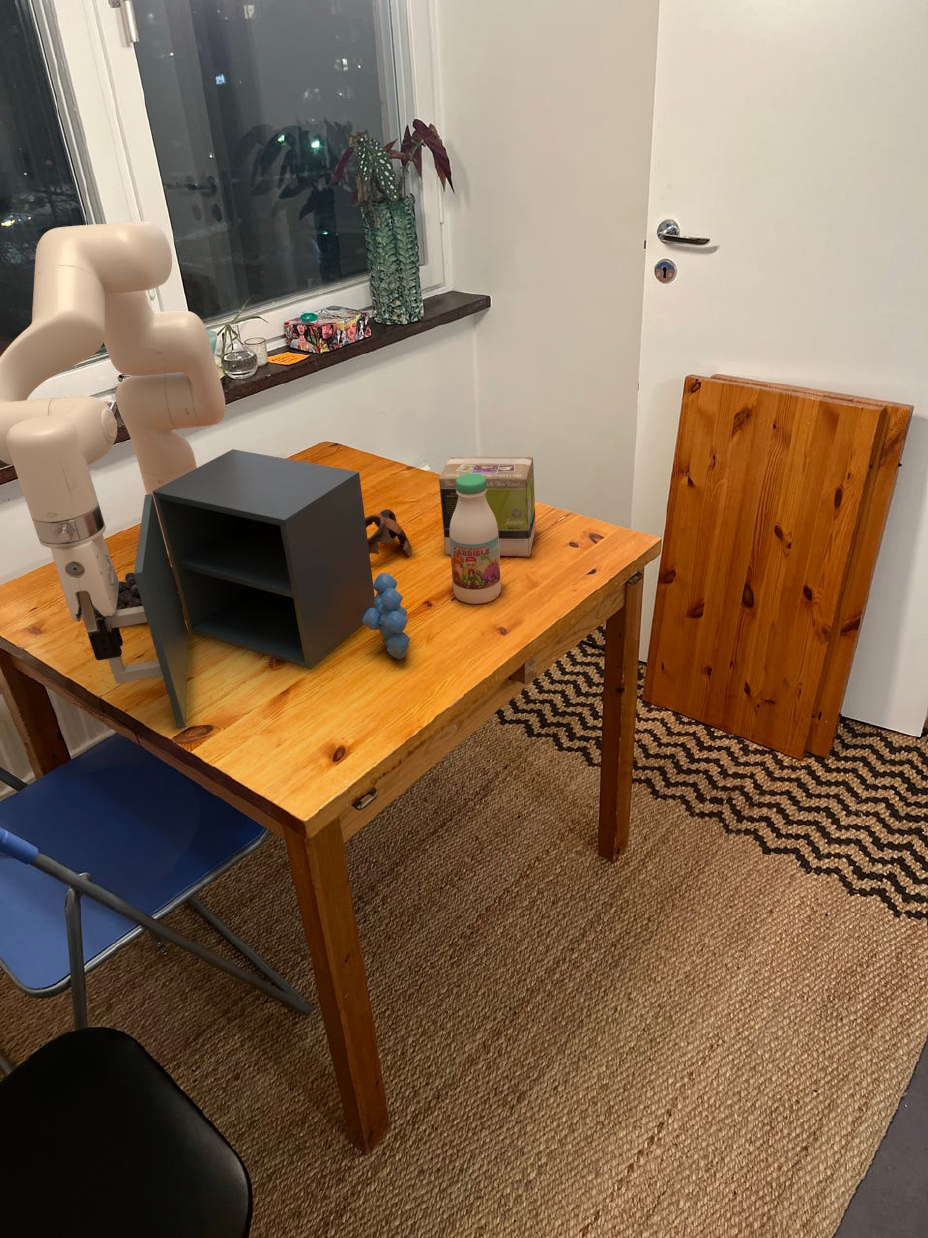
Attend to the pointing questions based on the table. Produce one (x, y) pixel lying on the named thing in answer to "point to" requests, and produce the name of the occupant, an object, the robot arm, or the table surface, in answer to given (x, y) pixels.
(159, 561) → the cupboard door
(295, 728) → the table surface
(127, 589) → the fruit
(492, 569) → the milk bottle
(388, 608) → the grapes
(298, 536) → the cupboard
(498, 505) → the tea box
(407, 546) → the brown curved legged piece
